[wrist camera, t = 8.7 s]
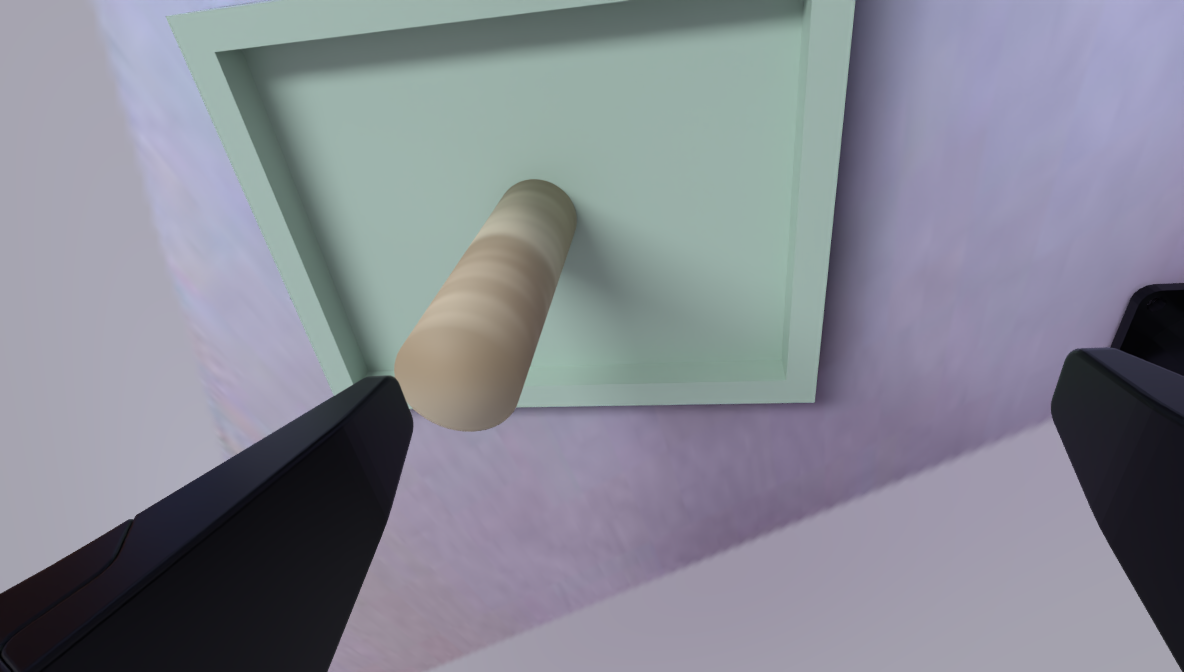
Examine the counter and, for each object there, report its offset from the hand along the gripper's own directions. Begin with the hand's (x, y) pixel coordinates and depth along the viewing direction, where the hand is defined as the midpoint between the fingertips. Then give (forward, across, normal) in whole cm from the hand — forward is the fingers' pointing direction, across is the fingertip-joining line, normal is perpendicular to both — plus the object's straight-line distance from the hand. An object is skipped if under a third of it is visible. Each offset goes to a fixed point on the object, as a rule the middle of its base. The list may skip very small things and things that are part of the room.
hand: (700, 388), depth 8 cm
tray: (+12, +5, +2) cm, 13 cm away
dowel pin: (+12, +5, +2) cm, 13 cm away
